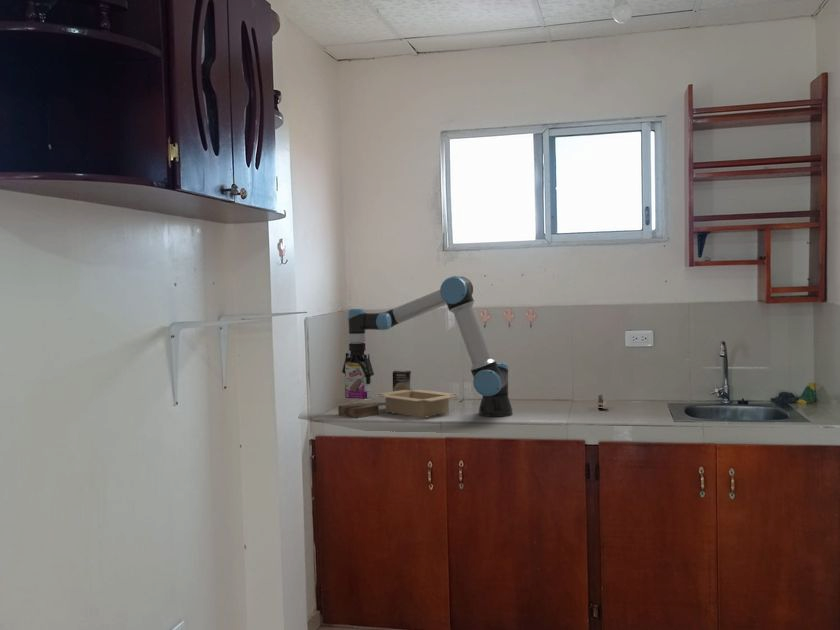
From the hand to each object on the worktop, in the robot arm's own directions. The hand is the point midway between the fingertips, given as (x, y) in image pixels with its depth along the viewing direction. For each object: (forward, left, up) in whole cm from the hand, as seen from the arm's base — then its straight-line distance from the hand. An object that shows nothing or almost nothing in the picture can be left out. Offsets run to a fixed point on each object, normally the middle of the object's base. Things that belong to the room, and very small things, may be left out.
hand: (358, 389), depth 345 cm
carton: (-17, -21, -11) cm, 29 cm away
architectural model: (-78, -80, -12) cm, 112 cm away
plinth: (0, 0, -11) cm, 11 cm away
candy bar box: (0, 0, -4) cm, 4 cm away
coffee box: (+7, -35, -12) cm, 38 cm away
